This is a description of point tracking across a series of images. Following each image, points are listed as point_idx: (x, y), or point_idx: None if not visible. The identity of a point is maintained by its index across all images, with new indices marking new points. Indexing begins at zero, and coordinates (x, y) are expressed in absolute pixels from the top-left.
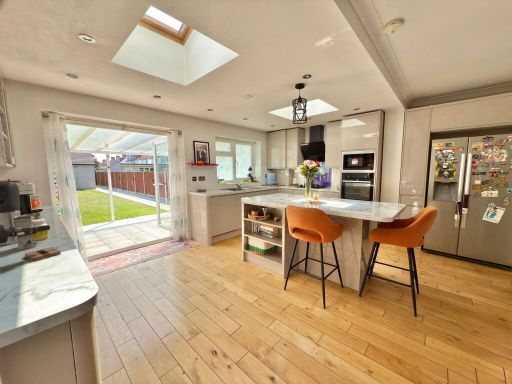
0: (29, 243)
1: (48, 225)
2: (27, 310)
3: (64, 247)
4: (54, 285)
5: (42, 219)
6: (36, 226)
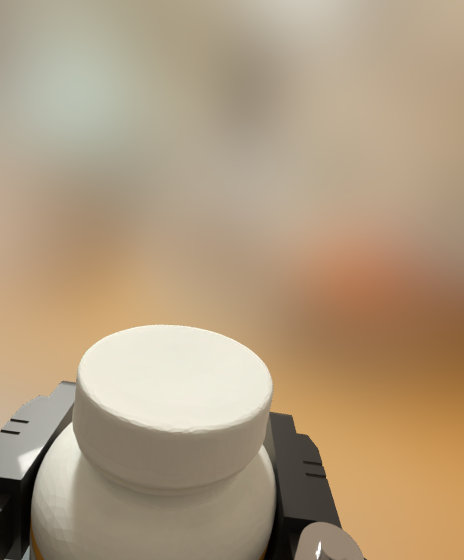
0: None
1: (292, 420)
2: None
3: None
4: None
5: (186, 336)
6: (263, 518)
